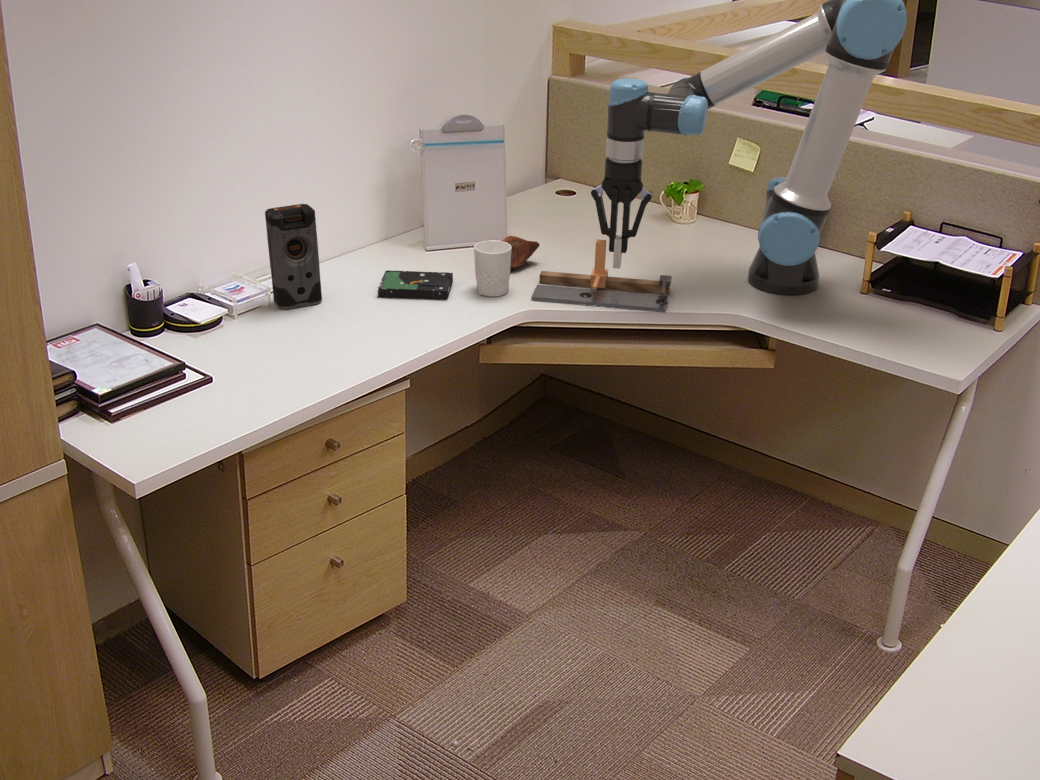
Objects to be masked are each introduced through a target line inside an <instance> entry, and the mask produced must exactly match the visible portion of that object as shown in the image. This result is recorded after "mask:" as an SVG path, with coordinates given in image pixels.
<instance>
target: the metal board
mask: <svg viewBox="0 0 1040 780" xmlns="http://www.w3.org/2000/svg"><path fill="white" fill-rule="evenodd" d="M530 297H531V299H530V300H531V301H533V300H534V301H535V302H536V301H537V302H547V303H559V304H566V305H567V304H569V305H578V304H585V305H584V306H589V305H596V306H595V307H600V306H605V307H604V308H611V307H614V308H613V309H626V310H634V311H635V310H636V311H645V312H646V311H647V312H655V313H656V312H658V313H666V310H667V305H668V304H669V295H664V300H660V294H651V293H640V292H628V291H617V290H605V289H602V290H601V289H597V293H596V294H593V288H582V287H571V286H560V285H548V284H536V286H535V288H534V290H533V293H532V295H531V296H530Z"/></svg>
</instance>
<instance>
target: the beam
mask: <svg viewBox="0 0 1040 780" xmlns="http://www.w3.org/2000/svg"><path fill="white" fill-rule="evenodd" d="M672 278H673V277H672V275H668V274H667V275H665V274H660V276H659V280H655V279H654V280H652V279H642V278H630V277H619V276H618V277H617V276H609V275H608V276H607V278H606V286H605V288H597V290H601V289H602V290H608V291H620V292H631V293H643V294H654V295H660V300H664V296H665V295H666V296H669V295H670V290H671V289H670V287H671V285H672ZM590 282H591V274H586V273H585V274H584V273H583V274H582V273H573V272H572V273H571V272H558V271H550V270H549V271H547V270H541V271H540V273H539V285H551V286H562V287H574V288H585V289H593V287H590Z"/></svg>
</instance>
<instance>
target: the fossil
mask: <svg viewBox="0 0 1040 780" xmlns="http://www.w3.org/2000/svg"><path fill="white" fill-rule="evenodd" d="M501 241H503V242H506V243H508V244H510V245H511V247H512V248H511V267H510V269H517V268H519V267H520V266H521V265H523V264H524V263H526V262H527V261H528V260H529V259H530V258H531V257H532V256H533V254H534V253H535V252H536V251H537V250H538V248H539V247H540V243H539V242H538V241H536V240H535V241H533V240H526V239H524V238H521V237H520V236H519V237H518V236H515V235H508V236H506V237H505V238H503V239H501Z"/></svg>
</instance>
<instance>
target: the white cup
mask: <svg viewBox="0 0 1040 780" xmlns="http://www.w3.org/2000/svg"><path fill="white" fill-rule="evenodd" d="M511 248H512V247H511V245H510V244H508V243H506V242H503V241H502V240H495V239H494V240H493V239H492V240H482V241H479V242H477V243H475V244H474V246H473V252H474V253H473V255H474V270H475V271H474V272H475V280H476V283H475V284H476V291H477V293H478V294H479V295H482V296H484V297H488V298H489V297H492V298H493V297H496V298H497V297H500V296H504V295H507V294H508V293H509V290H510V289H509V287H510V278H511V277H510V276H511V268H510V267H511Z"/></svg>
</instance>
